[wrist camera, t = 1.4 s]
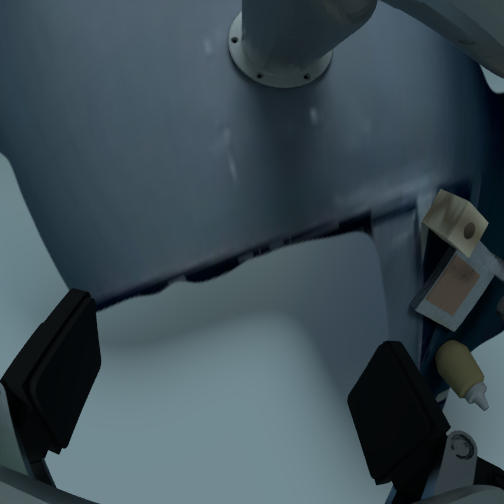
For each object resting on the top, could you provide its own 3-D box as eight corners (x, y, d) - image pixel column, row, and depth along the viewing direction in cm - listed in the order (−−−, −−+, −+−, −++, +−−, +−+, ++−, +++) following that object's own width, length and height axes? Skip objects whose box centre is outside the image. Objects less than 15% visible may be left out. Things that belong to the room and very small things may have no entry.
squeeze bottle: (433, 369, 53) (469, 428, 36) (427, 351, 50) (468, 414, 33) (461, 349, 51) (501, 403, 35) (457, 328, 48) (504, 386, 32)
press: (463, 222, 39) (511, 252, 28) (497, 260, 42) (536, 289, 31) (409, 303, 45) (444, 348, 34) (452, 327, 48) (482, 365, 37)
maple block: (440, 189, 37) (469, 201, 31) (461, 209, 38) (488, 223, 32) (421, 222, 39) (447, 239, 33) (443, 239, 40) (468, 257, 34)
